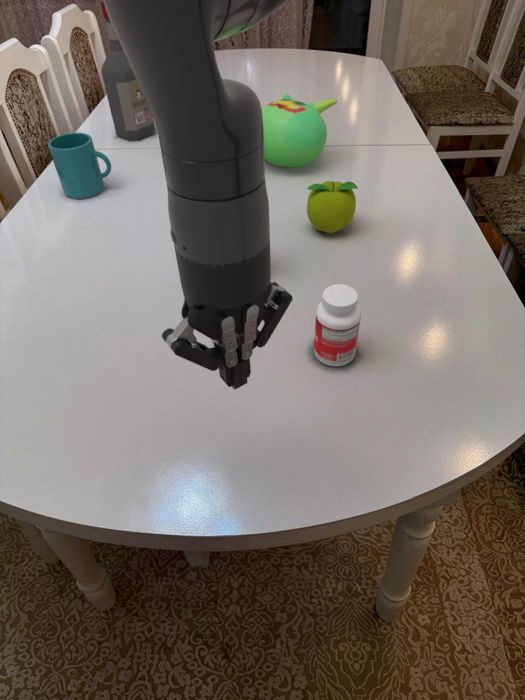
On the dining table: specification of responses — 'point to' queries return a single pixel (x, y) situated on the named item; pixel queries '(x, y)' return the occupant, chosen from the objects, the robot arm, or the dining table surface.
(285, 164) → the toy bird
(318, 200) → the fruit
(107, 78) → the liquor
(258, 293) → the robot arm
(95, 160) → the cup
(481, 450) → the dining table surface
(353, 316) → the pill bottle
